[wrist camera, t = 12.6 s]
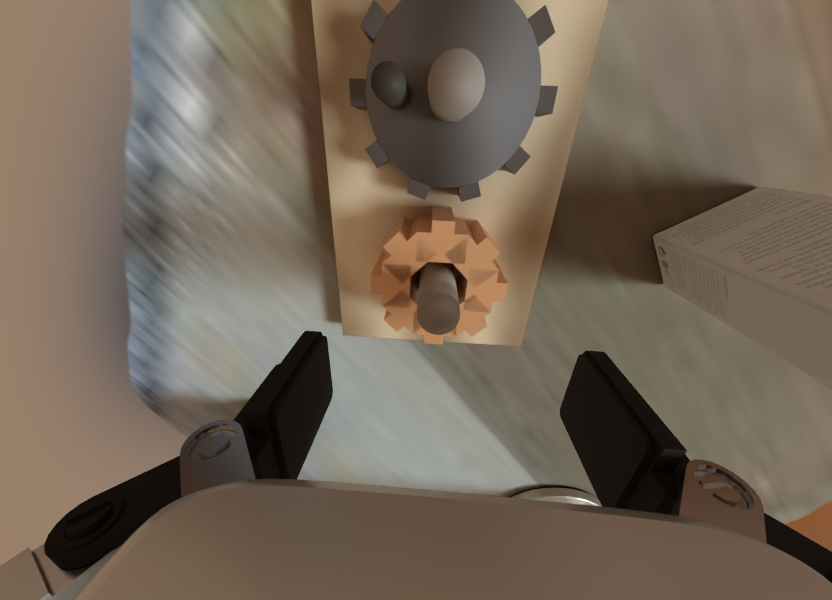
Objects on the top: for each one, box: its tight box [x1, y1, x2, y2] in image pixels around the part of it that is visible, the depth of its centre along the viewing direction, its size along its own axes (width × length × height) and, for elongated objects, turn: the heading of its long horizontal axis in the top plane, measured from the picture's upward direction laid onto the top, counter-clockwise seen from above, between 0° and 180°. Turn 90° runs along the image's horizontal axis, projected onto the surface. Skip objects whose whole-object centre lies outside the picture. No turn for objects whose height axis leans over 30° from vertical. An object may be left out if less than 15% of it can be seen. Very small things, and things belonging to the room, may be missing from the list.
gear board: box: [311, 0, 609, 346], centre depth 15 cm, size 13×20×8 cm, turn 178°
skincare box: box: [653, 187, 832, 389], centre depth 14 cm, size 6×4×12 cm
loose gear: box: [371, 206, 508, 344], centre depth 17 cm, size 7×7×4 cm
